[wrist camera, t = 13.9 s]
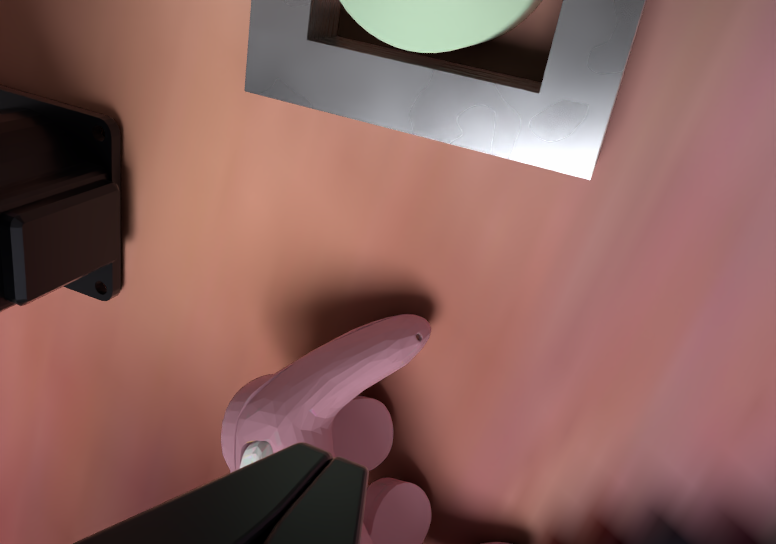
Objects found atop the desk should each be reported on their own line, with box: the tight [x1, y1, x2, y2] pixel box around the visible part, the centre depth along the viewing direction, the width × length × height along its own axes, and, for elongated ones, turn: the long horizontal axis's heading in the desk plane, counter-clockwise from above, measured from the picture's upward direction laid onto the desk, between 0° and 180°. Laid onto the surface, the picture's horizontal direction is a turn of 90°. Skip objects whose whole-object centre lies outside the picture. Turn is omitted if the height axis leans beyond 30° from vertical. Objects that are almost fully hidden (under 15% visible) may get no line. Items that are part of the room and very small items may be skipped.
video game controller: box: [221, 314, 511, 544], centre depth 20 cm, size 10×5×7 cm, turn 25°
